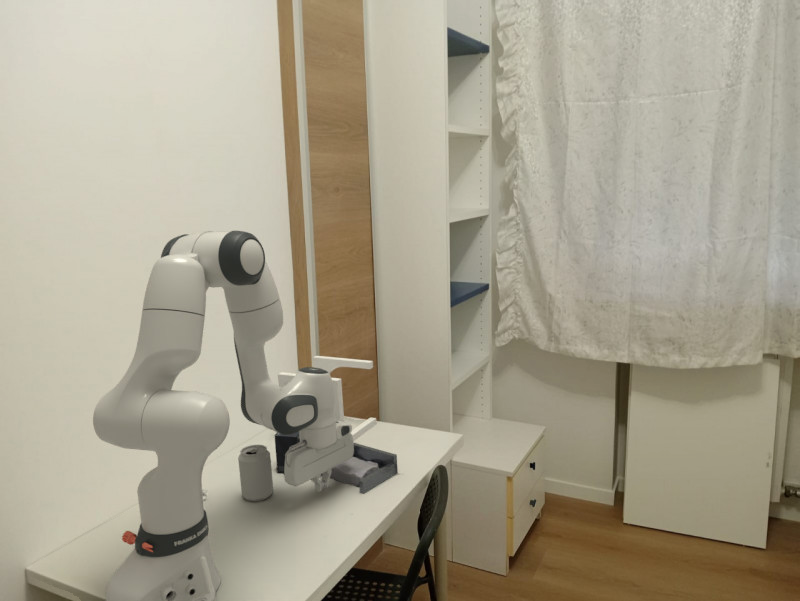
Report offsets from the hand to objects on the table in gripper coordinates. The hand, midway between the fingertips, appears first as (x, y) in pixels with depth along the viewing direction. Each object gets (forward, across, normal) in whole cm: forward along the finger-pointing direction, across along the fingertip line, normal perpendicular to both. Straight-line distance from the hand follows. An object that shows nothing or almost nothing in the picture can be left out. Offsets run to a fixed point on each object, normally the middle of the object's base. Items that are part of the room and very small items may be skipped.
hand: (322, 488), depth 163 cm
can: (+2, -9, +13) cm, 16 cm away
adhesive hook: (+2, -16, +24) cm, 29 cm away
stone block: (+2, +12, +1) cm, 13 cm away
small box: (+2, +8, +18) cm, 20 cm away
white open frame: (+2, +30, +26) cm, 40 cm away
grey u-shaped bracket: (+2, +12, 0) cm, 12 cm away
